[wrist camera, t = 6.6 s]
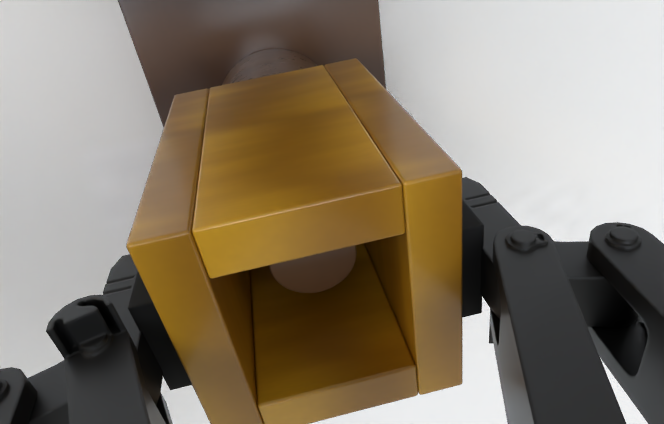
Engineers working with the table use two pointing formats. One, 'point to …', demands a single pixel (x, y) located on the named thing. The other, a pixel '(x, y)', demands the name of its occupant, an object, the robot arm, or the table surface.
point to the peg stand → (255, 67)
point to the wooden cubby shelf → (303, 246)
